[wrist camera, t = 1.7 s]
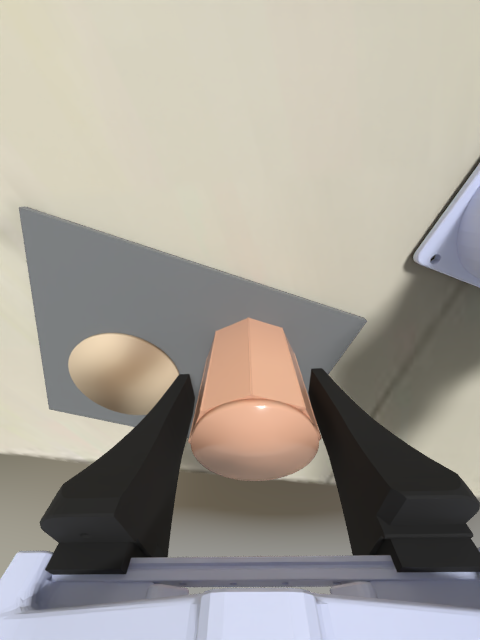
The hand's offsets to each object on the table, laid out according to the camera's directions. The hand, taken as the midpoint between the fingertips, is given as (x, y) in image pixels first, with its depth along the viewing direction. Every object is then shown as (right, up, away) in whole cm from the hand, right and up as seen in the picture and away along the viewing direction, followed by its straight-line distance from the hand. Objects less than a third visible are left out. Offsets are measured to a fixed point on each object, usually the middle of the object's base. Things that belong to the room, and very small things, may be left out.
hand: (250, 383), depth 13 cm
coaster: (-9, 0, +3) cm, 10 cm away
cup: (0, +1, +2) cm, 3 cm away
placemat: (-5, 0, +3) cm, 6 cm away
